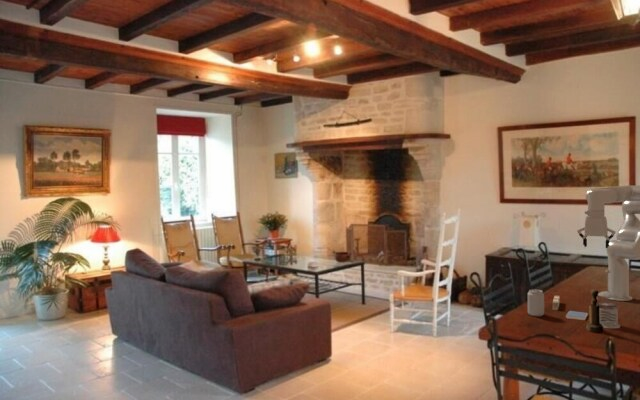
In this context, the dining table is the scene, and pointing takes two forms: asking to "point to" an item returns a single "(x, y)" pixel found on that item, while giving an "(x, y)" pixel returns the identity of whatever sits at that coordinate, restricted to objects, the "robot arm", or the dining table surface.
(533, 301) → the can
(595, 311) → the pepper mill
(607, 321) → the french press
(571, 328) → the dining table surface
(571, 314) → the tile
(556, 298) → the cream wooden plank
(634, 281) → the dining table surface
